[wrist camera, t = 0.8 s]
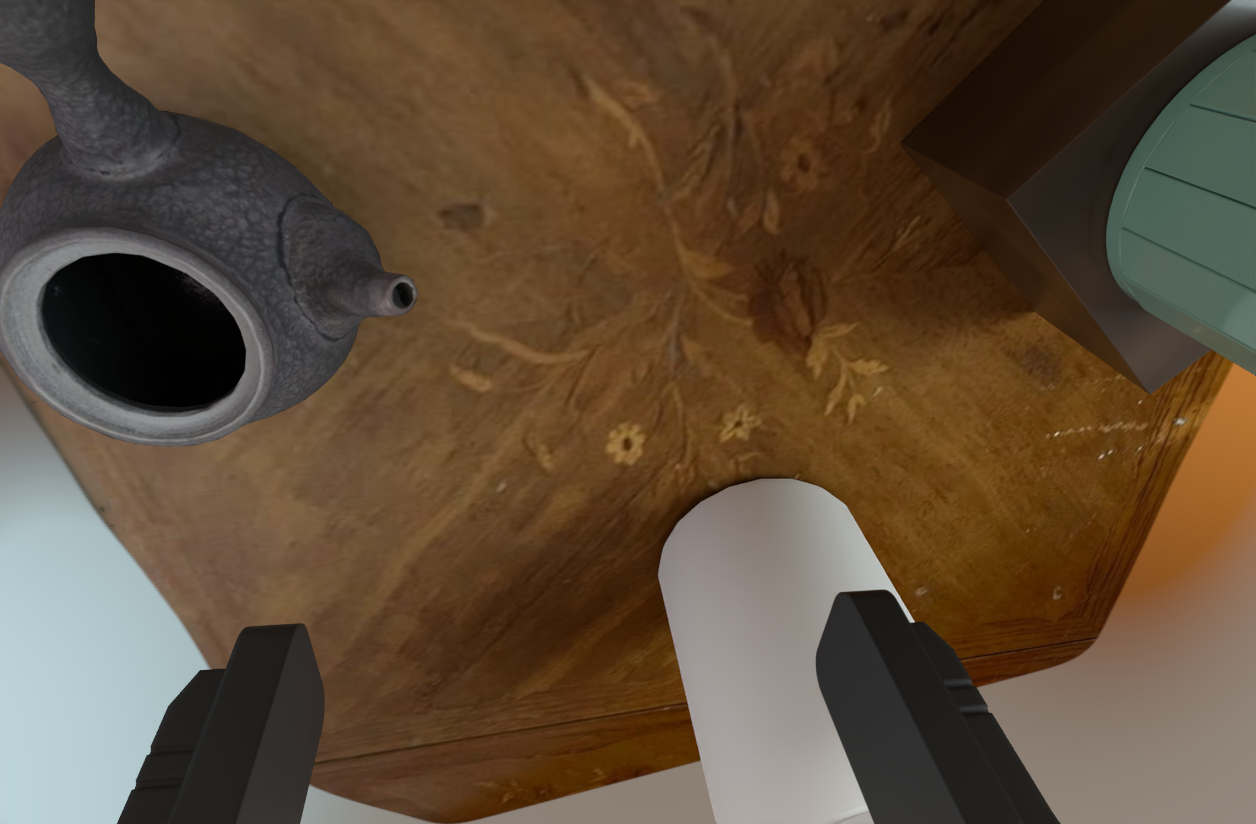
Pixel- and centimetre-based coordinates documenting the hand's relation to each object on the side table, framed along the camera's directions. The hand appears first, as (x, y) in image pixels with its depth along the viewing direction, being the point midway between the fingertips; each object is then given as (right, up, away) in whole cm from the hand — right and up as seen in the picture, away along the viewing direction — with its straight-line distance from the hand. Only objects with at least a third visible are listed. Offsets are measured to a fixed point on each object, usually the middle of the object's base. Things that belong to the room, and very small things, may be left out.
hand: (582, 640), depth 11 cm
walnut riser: (+22, +16, +21) cm, 34 cm away
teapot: (-15, +13, +17) cm, 26 cm away
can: (+9, -5, +33) cm, 35 cm away
